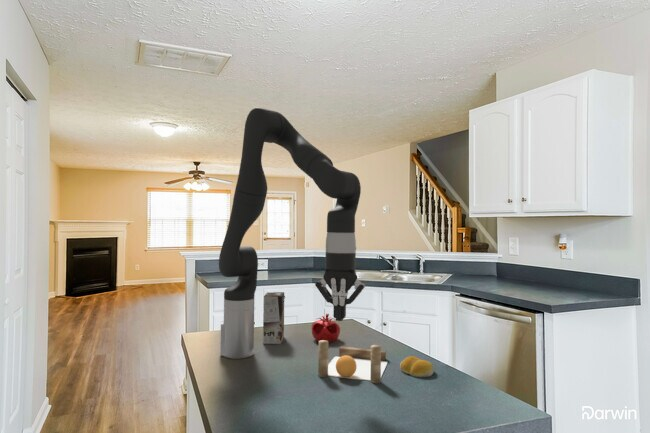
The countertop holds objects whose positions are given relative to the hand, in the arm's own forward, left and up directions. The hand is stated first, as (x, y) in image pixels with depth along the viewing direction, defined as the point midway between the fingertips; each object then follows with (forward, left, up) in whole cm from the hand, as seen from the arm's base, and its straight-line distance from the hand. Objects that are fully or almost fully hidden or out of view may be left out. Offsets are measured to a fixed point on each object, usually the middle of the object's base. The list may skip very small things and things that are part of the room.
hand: (339, 320), depth 104 cm
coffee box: (-32, +33, -17) cm, 49 cm away
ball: (0, +7, -14) cm, 16 cm away
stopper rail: (+1, +24, -17) cm, 30 cm away
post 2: (+8, +6, -17) cm, 19 cm away
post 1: (-6, +6, -17) cm, 19 cm away
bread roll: (+18, +17, -17) cm, 30 cm away
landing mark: (+1, +14, -17) cm, 22 cm away
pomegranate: (-15, +39, -17) cm, 45 cm away
